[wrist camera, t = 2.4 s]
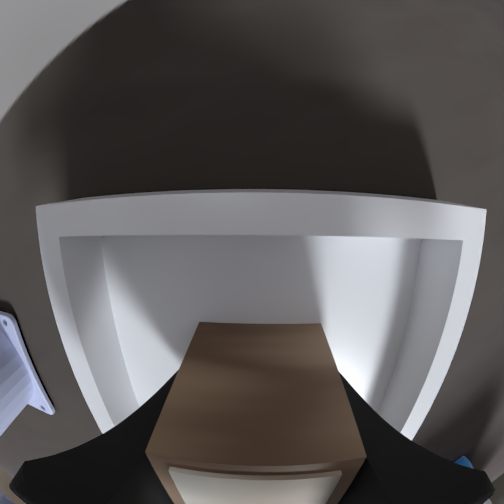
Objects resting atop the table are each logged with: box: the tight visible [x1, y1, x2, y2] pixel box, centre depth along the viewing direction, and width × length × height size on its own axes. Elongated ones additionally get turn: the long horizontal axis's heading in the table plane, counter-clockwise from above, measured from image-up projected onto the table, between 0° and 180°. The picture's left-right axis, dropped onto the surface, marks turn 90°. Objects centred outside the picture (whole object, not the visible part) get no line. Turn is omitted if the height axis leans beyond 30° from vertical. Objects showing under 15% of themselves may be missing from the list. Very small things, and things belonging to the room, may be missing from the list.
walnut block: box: [145, 322, 367, 504], centre depth 8 cm, size 4×4×6 cm
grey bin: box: [36, 189, 486, 441], centre depth 10 cm, size 14×14×3 cm
